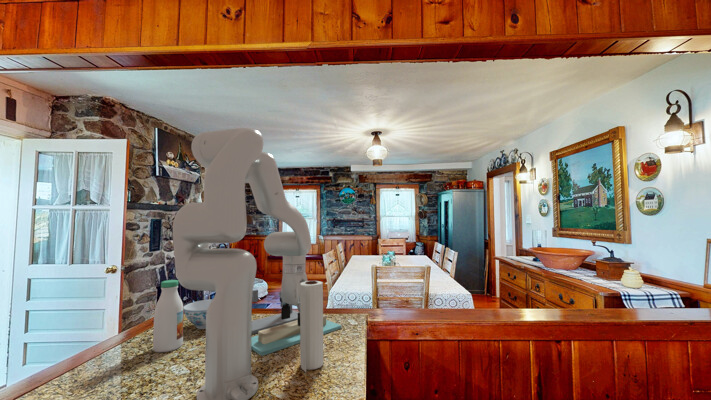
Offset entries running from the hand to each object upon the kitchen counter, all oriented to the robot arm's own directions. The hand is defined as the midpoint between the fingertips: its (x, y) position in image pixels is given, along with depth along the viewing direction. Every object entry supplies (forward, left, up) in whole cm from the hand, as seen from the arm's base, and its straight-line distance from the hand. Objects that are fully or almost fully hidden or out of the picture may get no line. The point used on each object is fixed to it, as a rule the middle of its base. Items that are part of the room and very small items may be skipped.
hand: (293, 321), depth 100 cm
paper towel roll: (-21, +8, -5) cm, 23 cm away
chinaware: (+32, +16, -5) cm, 37 cm away
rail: (0, -1, -4) cm, 4 cm away
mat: (0, -1, -5) cm, 5 cm away
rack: (+16, -2, -5) cm, 17 cm away
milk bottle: (+20, +31, -5) cm, 38 cm away
